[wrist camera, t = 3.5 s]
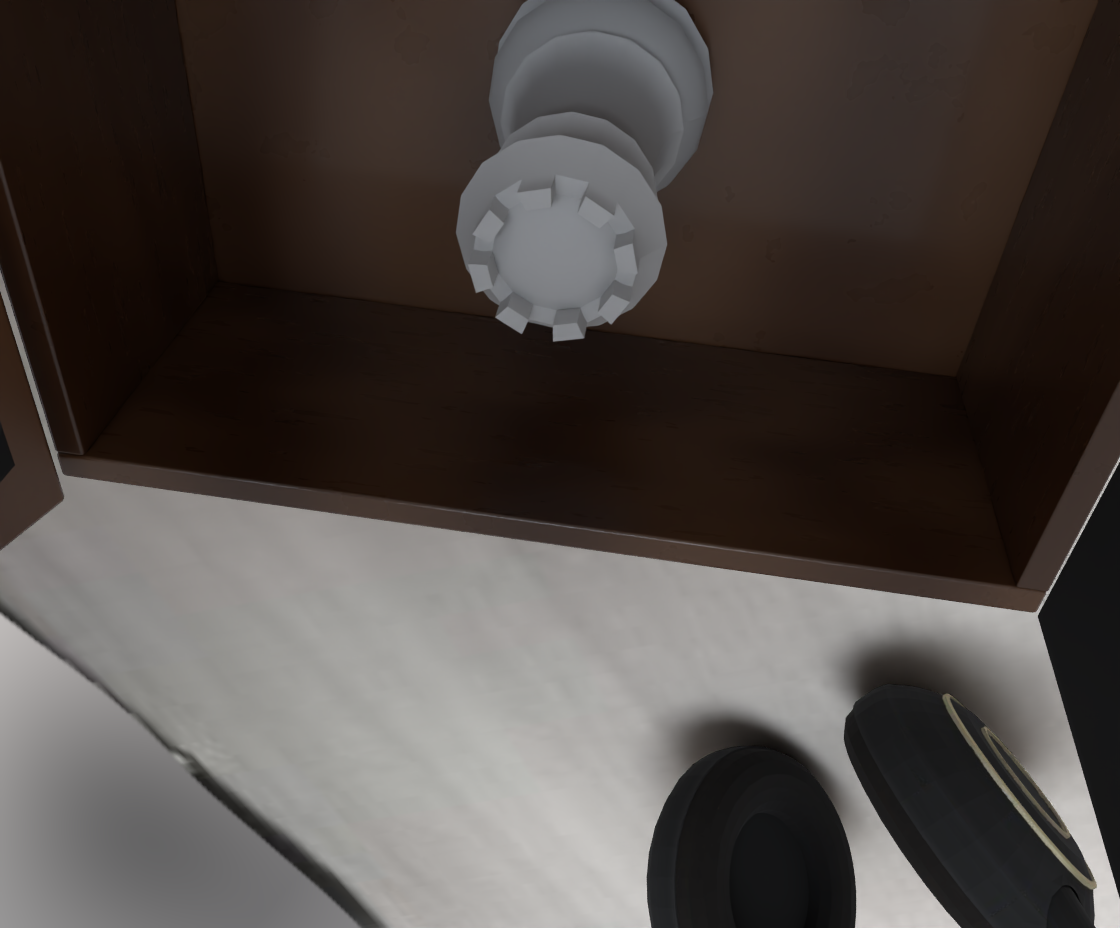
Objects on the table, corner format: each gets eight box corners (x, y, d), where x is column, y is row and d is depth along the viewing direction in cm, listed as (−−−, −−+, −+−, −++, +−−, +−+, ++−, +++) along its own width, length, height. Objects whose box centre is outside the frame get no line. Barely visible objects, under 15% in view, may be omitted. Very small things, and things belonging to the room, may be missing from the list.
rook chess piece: (723, -34, 20) (719, 126, 14) (704, 188, 23) (693, 402, 17) (492, -41, 20) (386, 112, 14) (501, 178, 23) (417, 384, 17)
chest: (1223, -266, 17) (1472, -201, 11) (968, 386, 26) (1036, 614, 20) (100, -373, 18) (-197, -365, 12) (209, 287, 27) (61, 476, 21)
